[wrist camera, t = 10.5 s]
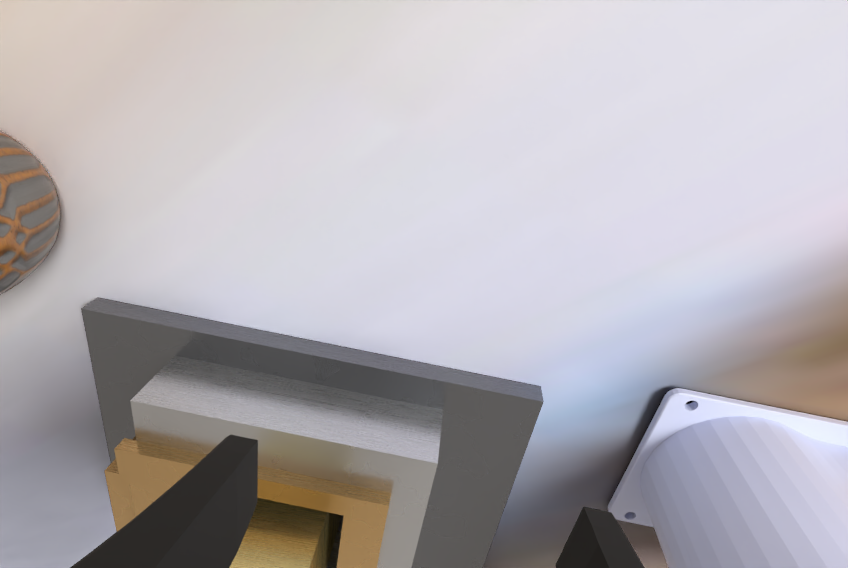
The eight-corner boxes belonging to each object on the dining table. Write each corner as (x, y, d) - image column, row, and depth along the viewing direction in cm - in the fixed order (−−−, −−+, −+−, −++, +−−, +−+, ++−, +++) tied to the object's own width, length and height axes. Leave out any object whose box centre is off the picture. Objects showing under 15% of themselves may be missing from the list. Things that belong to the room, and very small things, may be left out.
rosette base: (540, 386, 21) (555, 469, 17) (469, 586, 28) (467, 680, 24) (97, 297, 21) (6, 357, 17) (135, 516, 28) (76, 597, 24)
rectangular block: (344, 458, 23) (288, 631, 16) (341, 517, 25) (289, 693, 18) (258, 444, 23) (167, 608, 16) (262, 503, 25) (181, 672, 18)
